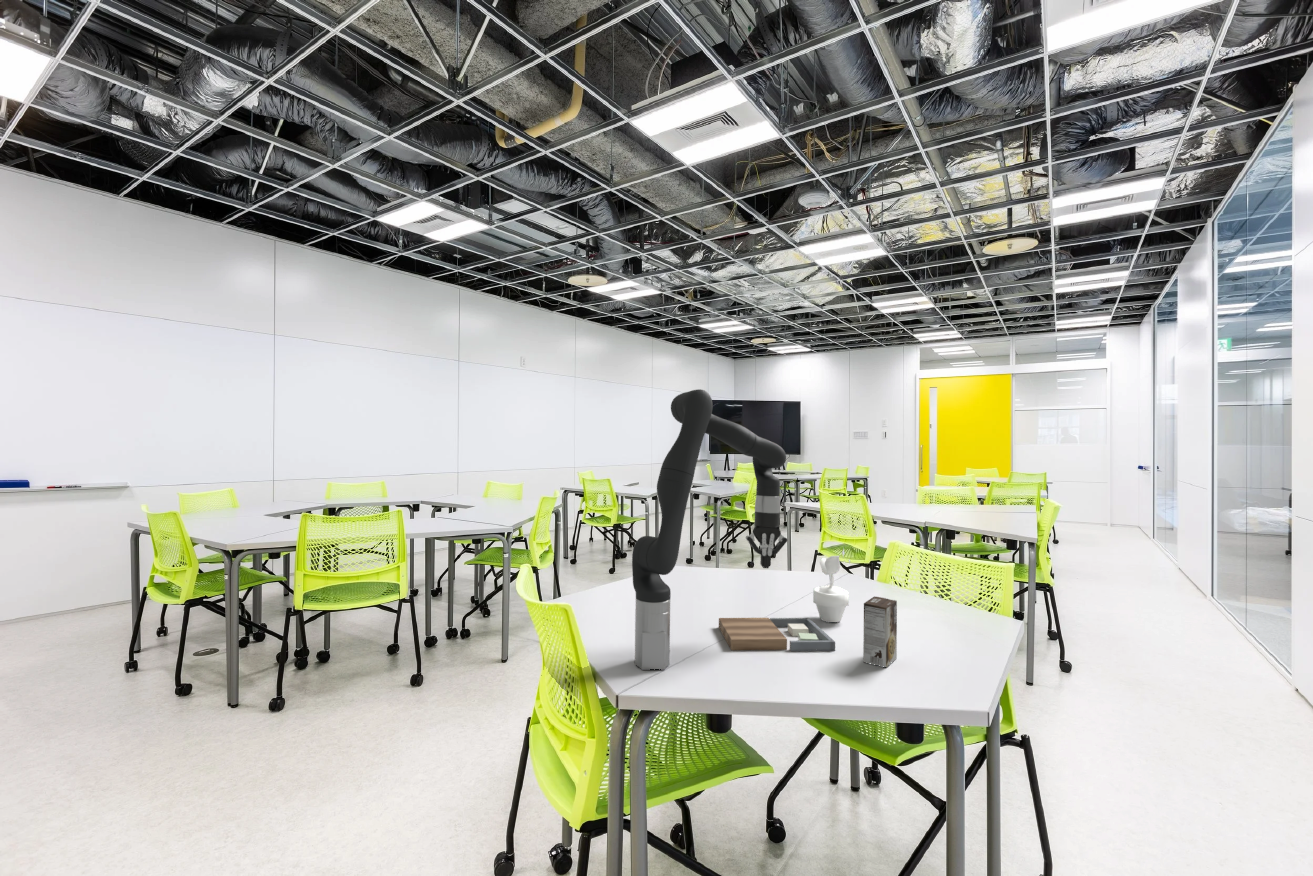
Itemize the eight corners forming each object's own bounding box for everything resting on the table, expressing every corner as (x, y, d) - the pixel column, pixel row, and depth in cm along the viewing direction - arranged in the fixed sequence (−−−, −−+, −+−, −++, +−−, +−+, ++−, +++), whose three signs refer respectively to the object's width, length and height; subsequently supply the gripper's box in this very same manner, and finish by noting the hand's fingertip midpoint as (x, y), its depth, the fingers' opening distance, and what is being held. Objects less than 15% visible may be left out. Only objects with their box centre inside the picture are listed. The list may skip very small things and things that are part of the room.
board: (786, 649, 162) (787, 639, 162) (731, 650, 161) (731, 639, 161) (768, 627, 182) (768, 617, 182) (718, 627, 181) (718, 618, 181)
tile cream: (792, 628, 173) (792, 637, 173) (808, 628, 174) (808, 637, 174) (787, 623, 178) (787, 631, 178) (803, 623, 179) (803, 631, 179)
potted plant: (853, 626, 184) (854, 548, 184) (817, 625, 184) (818, 548, 184) (841, 614, 197) (842, 542, 197) (808, 613, 197) (808, 541, 197)
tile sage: (800, 638, 165) (800, 647, 165) (818, 639, 164) (818, 648, 164) (798, 632, 170) (798, 641, 170) (815, 633, 169) (815, 642, 169)
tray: (835, 650, 162) (835, 641, 162) (790, 651, 161) (791, 642, 161) (808, 625, 184) (808, 617, 184) (769, 625, 183) (769, 618, 183)
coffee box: (873, 653, 160) (874, 595, 160) (897, 659, 156) (897, 600, 156) (862, 662, 153) (862, 602, 153) (886, 668, 149) (887, 607, 149)
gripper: (748, 511, 169) (746, 569, 169) (792, 512, 170) (790, 571, 169) (743, 508, 177) (741, 565, 176) (785, 510, 177) (783, 566, 177)
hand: (765, 567), depth 173 cm, fingers closed
